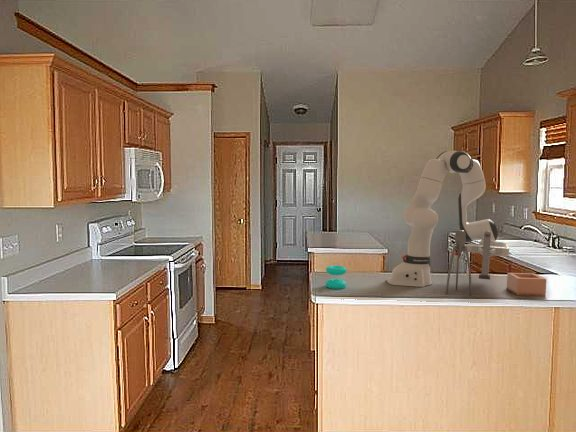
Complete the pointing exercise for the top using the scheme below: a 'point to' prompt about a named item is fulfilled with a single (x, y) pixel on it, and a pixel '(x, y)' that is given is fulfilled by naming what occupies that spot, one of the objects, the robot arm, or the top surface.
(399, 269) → the robot arm
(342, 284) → the donuts
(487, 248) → the pepper mill
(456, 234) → the juicer
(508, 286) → the orange open box
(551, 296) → the top surface
